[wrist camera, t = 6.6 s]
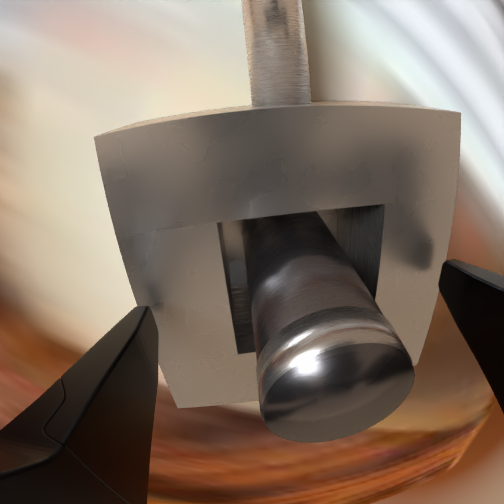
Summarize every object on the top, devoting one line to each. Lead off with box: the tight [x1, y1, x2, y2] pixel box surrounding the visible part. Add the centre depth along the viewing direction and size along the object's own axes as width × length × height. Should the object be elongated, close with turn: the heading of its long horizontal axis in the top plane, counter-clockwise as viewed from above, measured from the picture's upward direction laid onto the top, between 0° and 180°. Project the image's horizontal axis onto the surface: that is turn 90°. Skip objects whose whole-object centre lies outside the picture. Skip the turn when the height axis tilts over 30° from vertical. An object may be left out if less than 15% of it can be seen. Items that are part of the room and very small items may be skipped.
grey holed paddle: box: [94, 0, 461, 408], centre depth 9 cm, size 20×10×4 cm, turn 5°
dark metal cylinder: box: [242, 211, 415, 442], centre depth 9 cm, size 3×3×8 cm
